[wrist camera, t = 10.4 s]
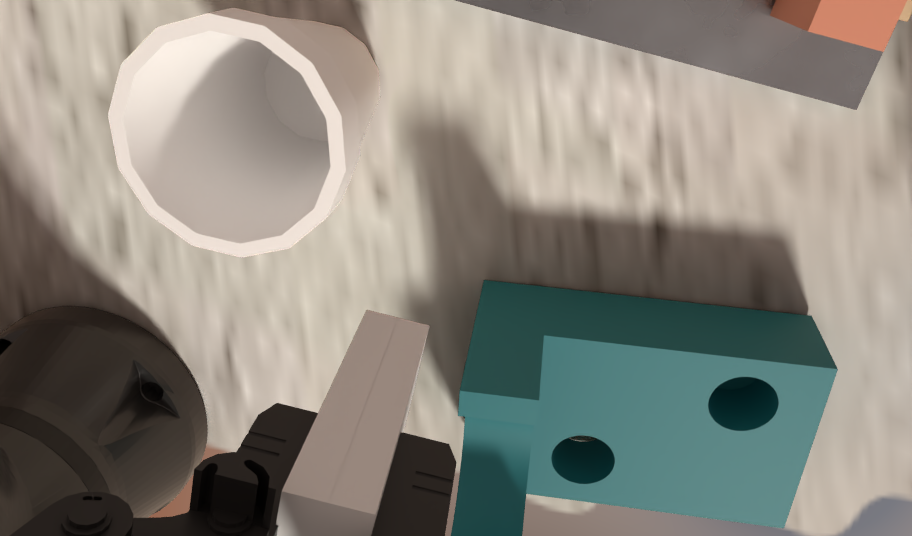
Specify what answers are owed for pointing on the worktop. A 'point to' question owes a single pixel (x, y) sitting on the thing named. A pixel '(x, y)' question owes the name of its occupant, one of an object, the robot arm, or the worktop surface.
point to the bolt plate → (715, 40)
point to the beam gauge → (906, 11)
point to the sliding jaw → (844, 19)
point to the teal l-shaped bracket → (635, 406)
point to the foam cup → (243, 126)
